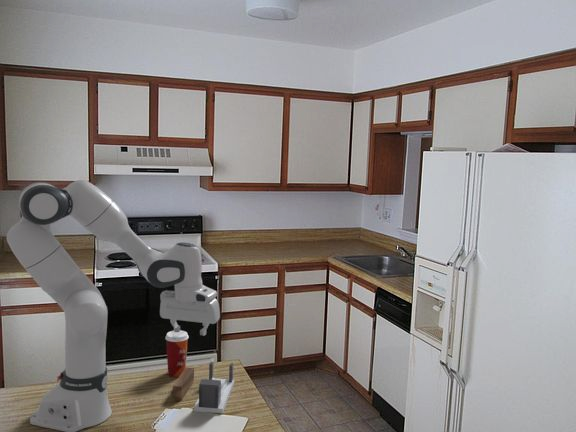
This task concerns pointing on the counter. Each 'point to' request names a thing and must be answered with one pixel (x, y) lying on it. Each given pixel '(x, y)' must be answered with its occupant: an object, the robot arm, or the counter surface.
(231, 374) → the endcap frame
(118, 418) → the counter surface
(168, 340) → the coffee cup
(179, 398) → the slat
